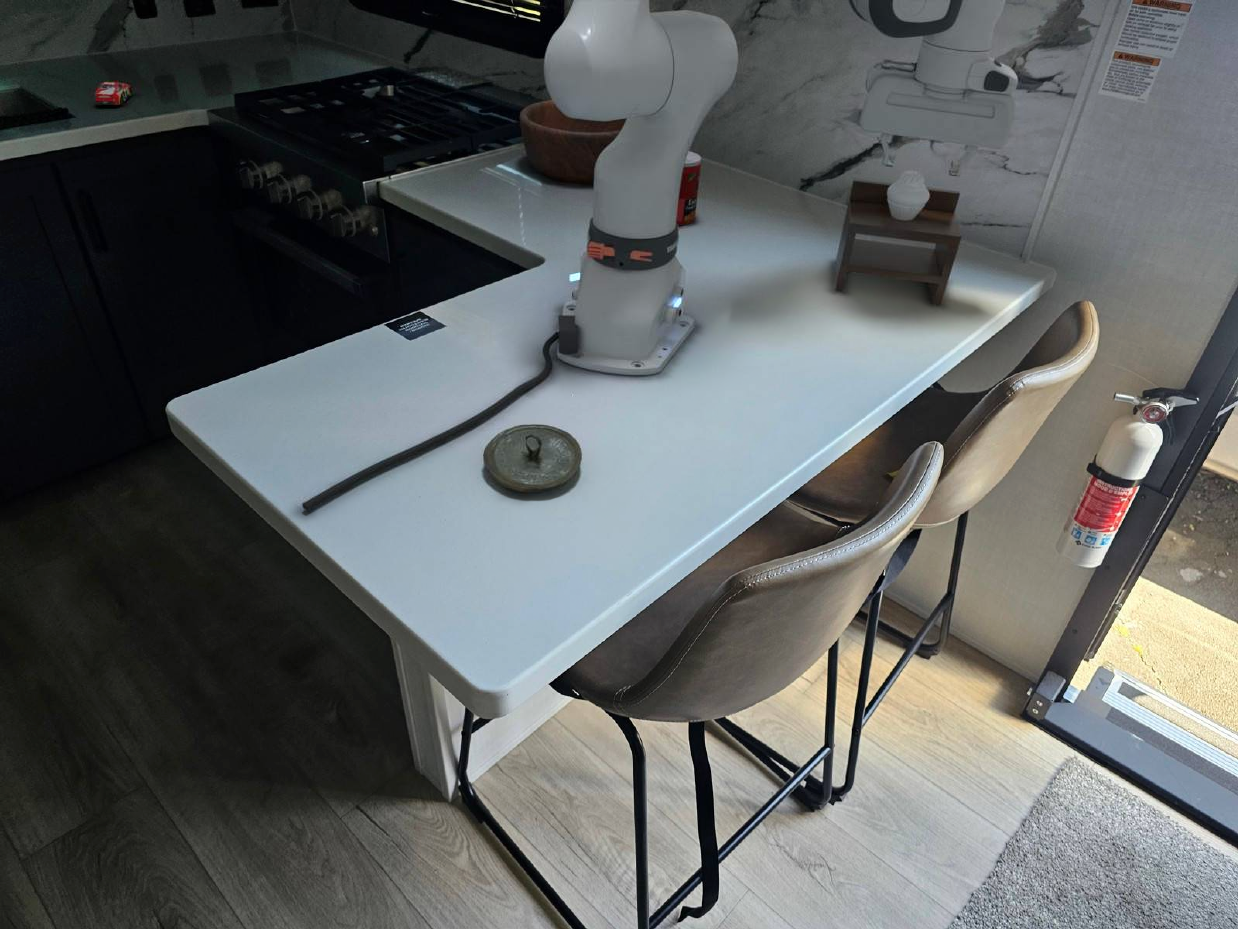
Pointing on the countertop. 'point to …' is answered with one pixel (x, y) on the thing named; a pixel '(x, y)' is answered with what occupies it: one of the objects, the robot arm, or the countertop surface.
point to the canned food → (689, 189)
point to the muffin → (907, 196)
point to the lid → (532, 457)
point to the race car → (112, 93)
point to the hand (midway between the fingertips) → (920, 169)
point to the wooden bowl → (565, 141)
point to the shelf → (898, 260)
